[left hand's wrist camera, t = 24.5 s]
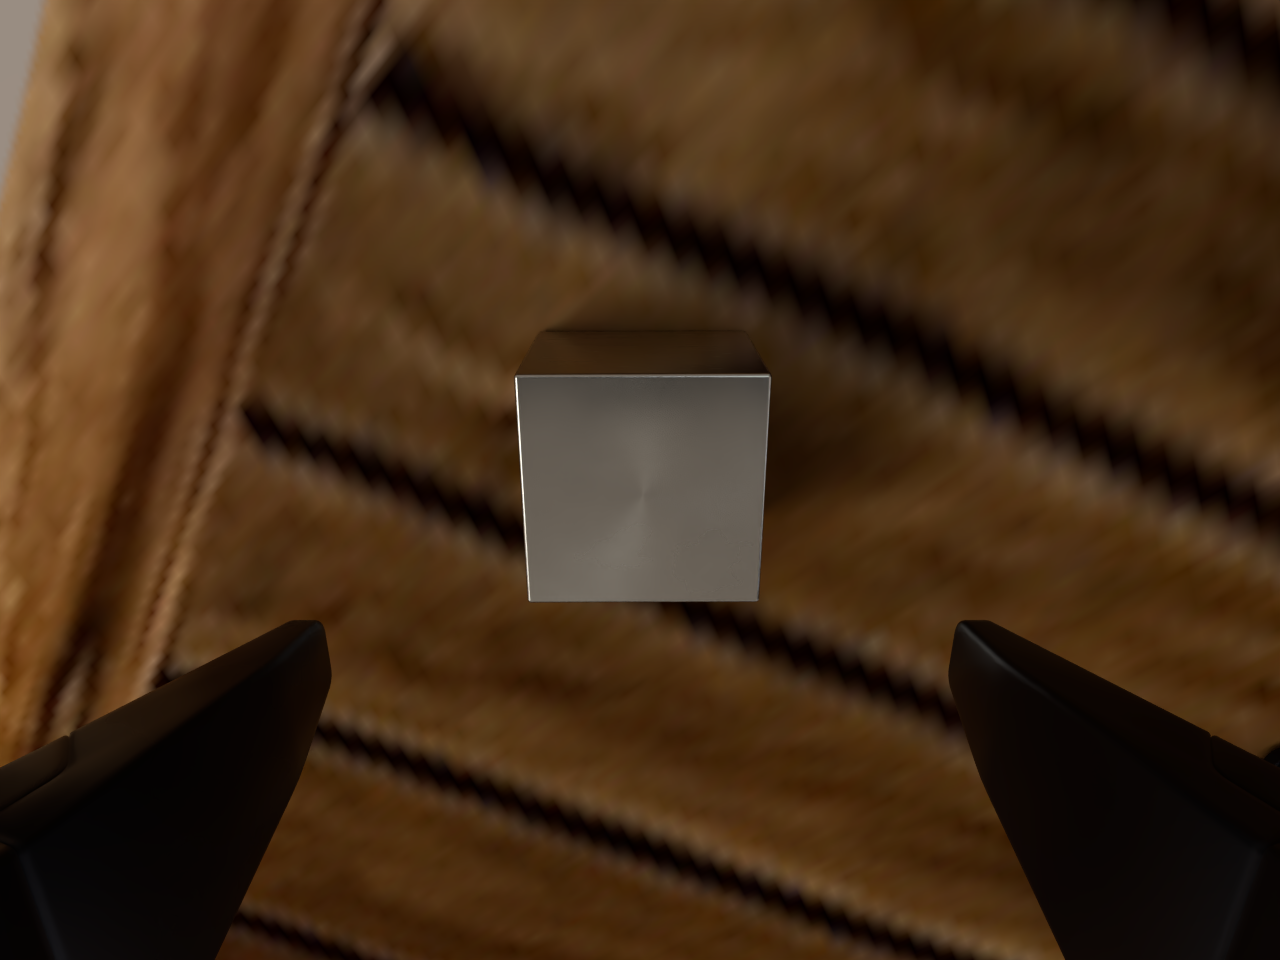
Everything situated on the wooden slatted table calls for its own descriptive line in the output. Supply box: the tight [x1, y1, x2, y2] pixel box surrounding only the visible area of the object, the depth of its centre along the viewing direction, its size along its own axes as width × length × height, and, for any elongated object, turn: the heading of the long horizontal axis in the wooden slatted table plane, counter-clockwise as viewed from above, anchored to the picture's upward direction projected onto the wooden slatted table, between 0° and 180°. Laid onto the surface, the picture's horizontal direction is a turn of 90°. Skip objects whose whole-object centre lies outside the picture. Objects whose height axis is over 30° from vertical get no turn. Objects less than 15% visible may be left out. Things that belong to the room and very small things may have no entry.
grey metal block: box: [514, 331, 772, 602], centre depth 19 cm, size 5×5×4 cm
